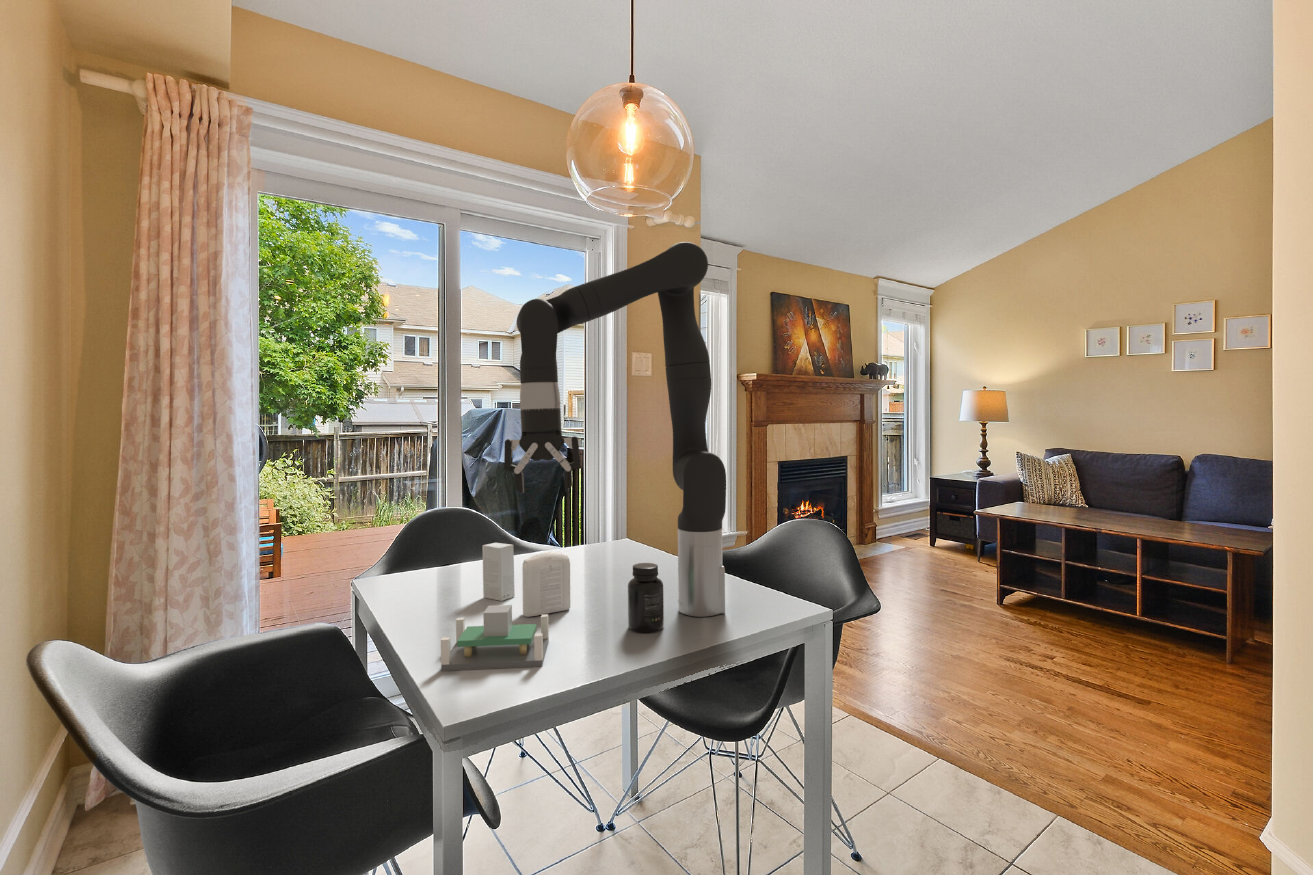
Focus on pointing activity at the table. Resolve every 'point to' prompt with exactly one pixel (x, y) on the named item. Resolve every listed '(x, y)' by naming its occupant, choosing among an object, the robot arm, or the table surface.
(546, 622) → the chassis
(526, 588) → the white rounded block
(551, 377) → the robot arm
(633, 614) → the supplement bottle
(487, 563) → the skincare box
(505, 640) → the module board
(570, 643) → the table surface
